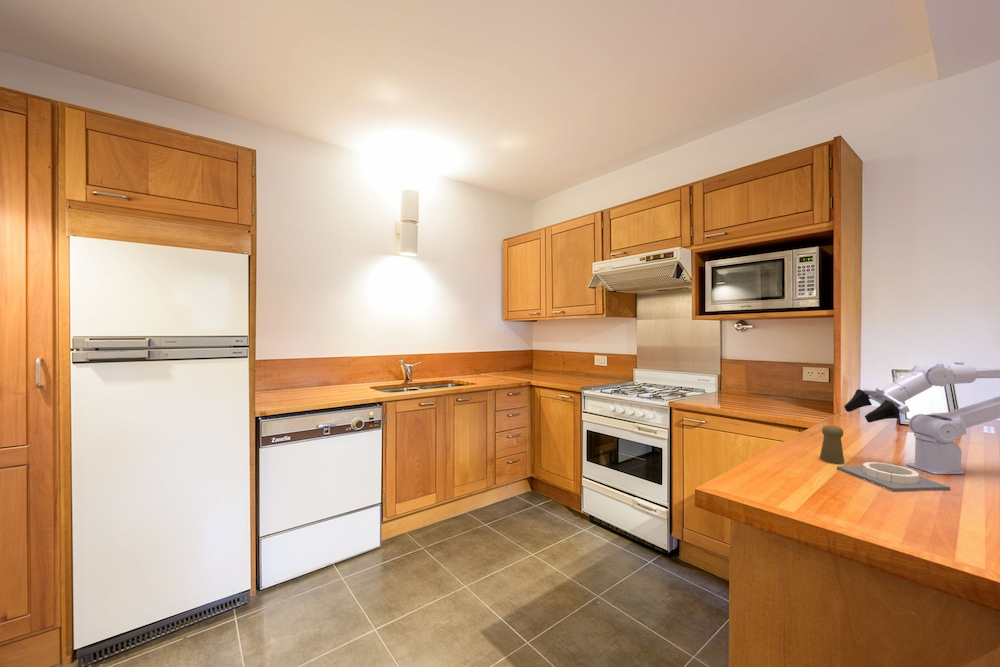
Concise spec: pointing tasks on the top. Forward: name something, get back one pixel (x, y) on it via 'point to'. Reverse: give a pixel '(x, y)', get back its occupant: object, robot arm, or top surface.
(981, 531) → the top surface
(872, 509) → the top surface
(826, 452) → the cork
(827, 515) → the top surface
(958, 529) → the top surface
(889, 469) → the ring stand
